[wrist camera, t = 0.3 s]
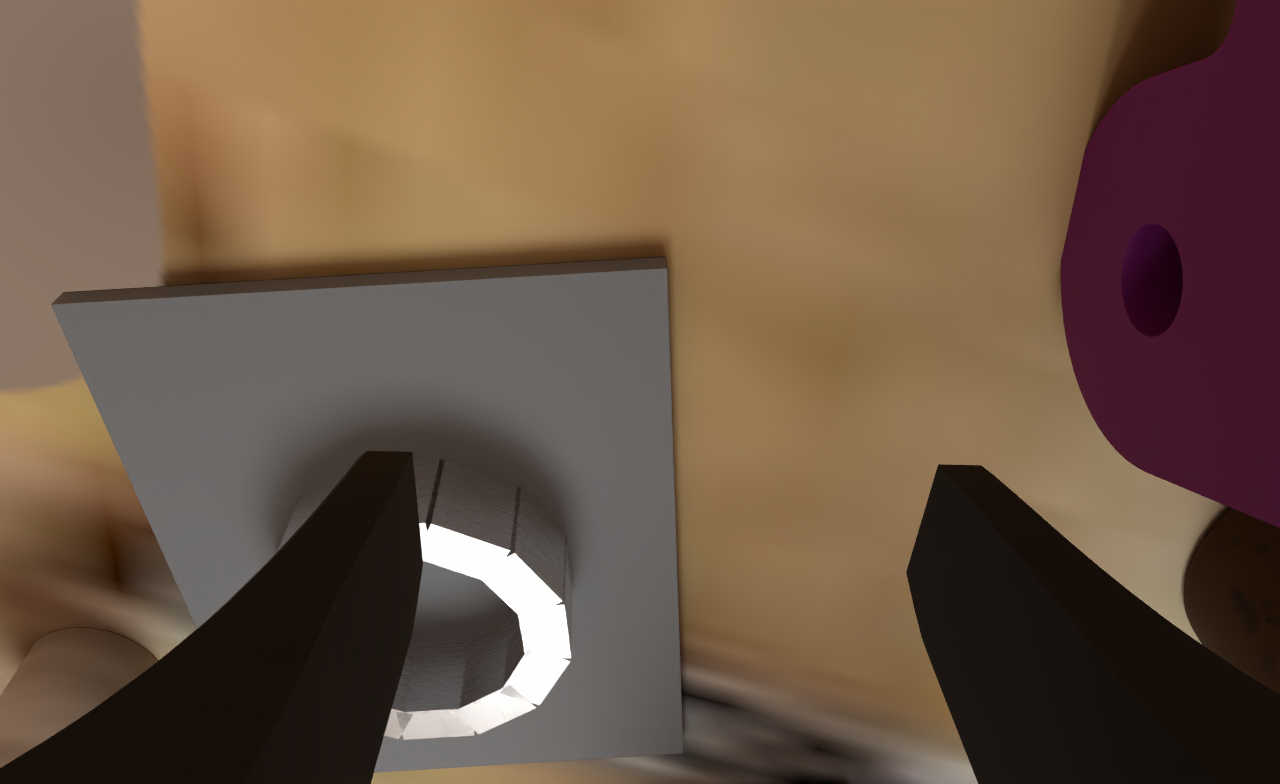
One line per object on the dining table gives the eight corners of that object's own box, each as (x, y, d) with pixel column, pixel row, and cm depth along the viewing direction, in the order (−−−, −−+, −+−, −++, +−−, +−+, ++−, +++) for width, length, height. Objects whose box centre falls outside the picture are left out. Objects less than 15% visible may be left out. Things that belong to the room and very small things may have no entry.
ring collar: (581, 658, 29) (580, 729, 27) (319, 674, 29) (297, 746, 26) (556, 450, 24) (552, 515, 22) (245, 469, 24) (212, 536, 22)
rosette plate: (682, 737, 32) (683, 753, 31) (270, 763, 32) (264, 779, 31) (665, 256, 22) (666, 268, 21) (63, 292, 22) (50, 304, 21)
